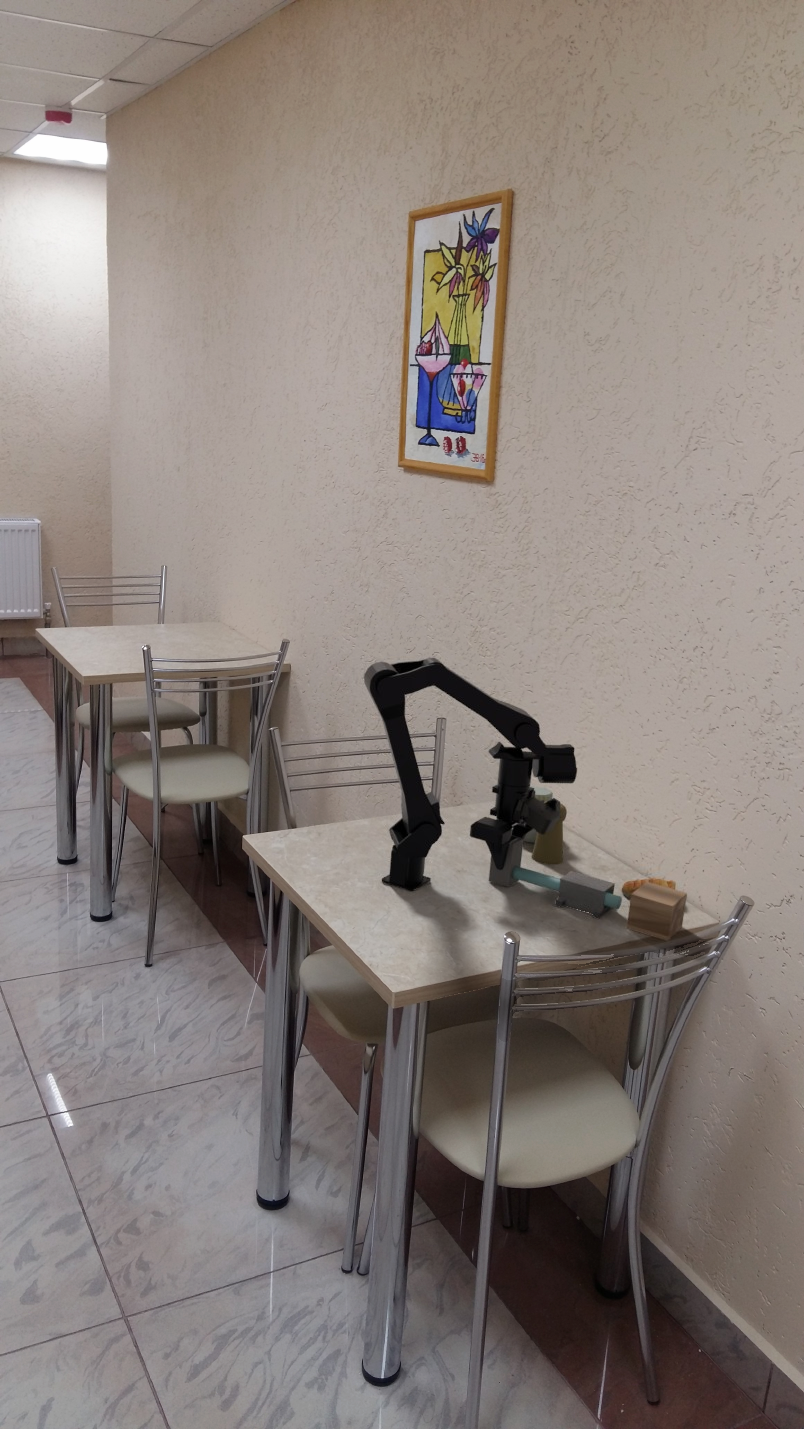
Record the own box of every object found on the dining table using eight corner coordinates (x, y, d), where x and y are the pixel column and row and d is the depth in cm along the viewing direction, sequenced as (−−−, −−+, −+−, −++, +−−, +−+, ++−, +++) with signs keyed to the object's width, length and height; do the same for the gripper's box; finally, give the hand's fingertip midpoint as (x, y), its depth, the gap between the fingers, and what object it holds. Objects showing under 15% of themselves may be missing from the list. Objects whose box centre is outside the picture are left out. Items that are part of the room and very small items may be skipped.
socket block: (667, 940, 177) (672, 906, 176) (626, 928, 181) (631, 894, 180) (682, 926, 183) (687, 893, 182) (641, 914, 187) (646, 881, 185)
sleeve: (598, 918, 184) (602, 893, 183) (555, 905, 188) (558, 880, 187) (613, 906, 189) (616, 881, 188) (570, 894, 193) (573, 869, 192)
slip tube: (613, 918, 184) (618, 874, 182) (488, 881, 196) (492, 838, 194) (622, 911, 187) (627, 867, 185) (499, 874, 199) (503, 832, 197)
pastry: (621, 902, 192) (623, 881, 191) (620, 887, 198) (623, 868, 197) (676, 909, 190) (679, 889, 190) (673, 895, 197) (676, 875, 196)
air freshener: (556, 850, 214) (562, 801, 212) (514, 846, 214) (519, 797, 212) (550, 830, 225) (555, 783, 222) (509, 827, 225) (514, 780, 222)
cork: (553, 867, 205) (559, 811, 202) (525, 858, 208) (531, 802, 206) (569, 859, 210) (575, 804, 207) (541, 850, 213) (547, 796, 211)
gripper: (532, 805, 180) (522, 894, 184) (578, 780, 195) (568, 863, 199) (472, 789, 186) (464, 876, 189) (522, 767, 201) (513, 847, 205)
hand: (505, 865), depth 196 cm, fingers closed on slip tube, 4 cm apart
